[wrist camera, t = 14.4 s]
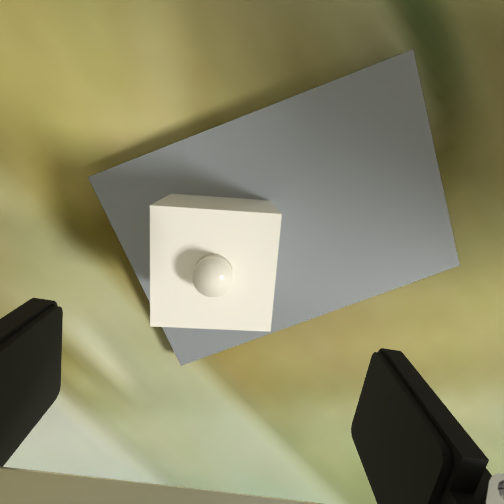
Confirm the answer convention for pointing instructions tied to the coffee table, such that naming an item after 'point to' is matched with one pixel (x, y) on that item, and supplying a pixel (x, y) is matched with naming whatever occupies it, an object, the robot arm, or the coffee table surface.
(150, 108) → the coffee table surface
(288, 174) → the board
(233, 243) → the white knobbed cube
